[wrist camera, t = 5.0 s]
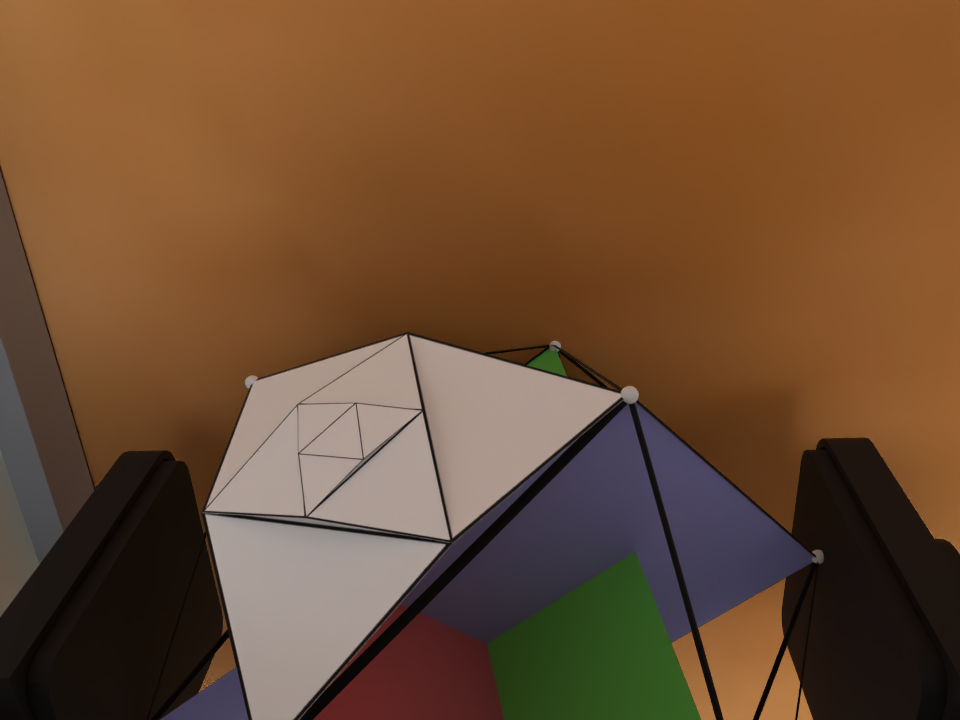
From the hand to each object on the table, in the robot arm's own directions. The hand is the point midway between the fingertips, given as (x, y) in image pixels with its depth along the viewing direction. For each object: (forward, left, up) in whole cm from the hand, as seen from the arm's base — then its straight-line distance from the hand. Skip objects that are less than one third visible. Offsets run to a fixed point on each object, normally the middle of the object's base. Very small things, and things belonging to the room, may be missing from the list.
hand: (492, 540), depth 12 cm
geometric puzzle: (0, 0, -2) cm, 2 cm away
